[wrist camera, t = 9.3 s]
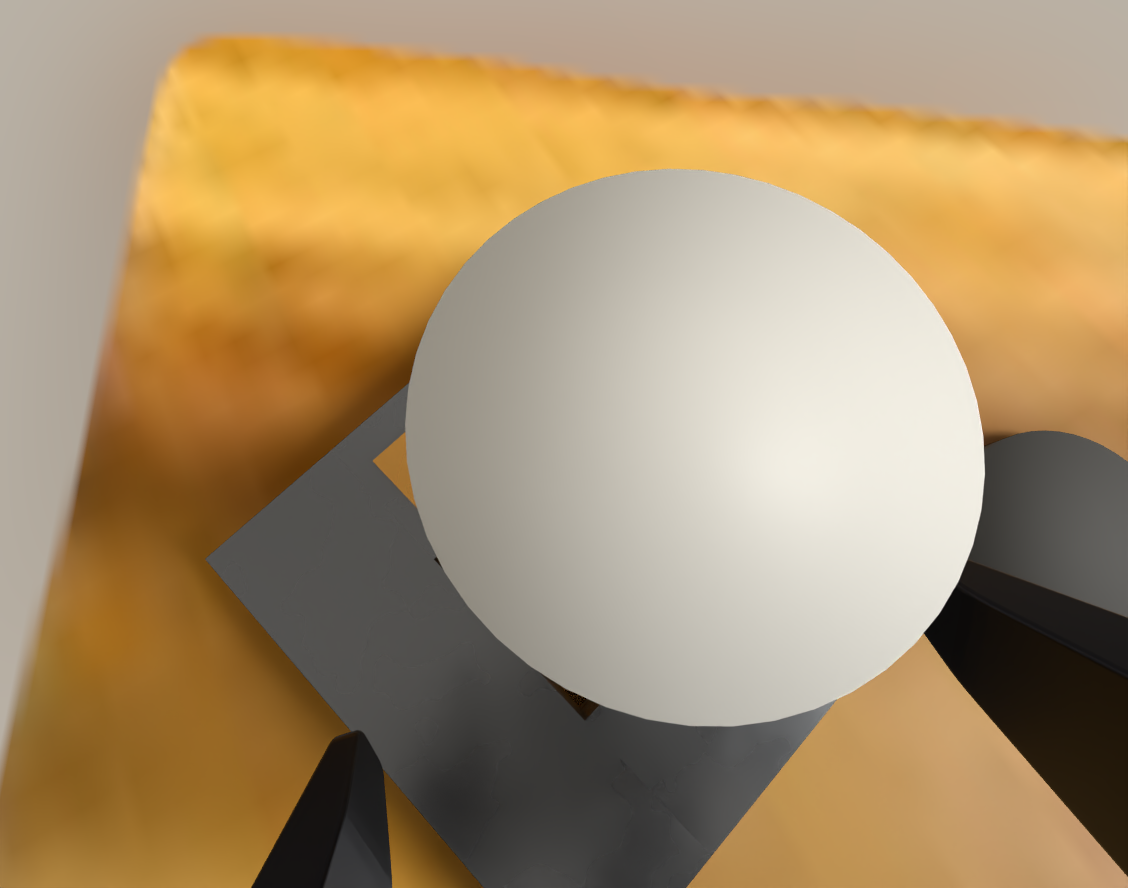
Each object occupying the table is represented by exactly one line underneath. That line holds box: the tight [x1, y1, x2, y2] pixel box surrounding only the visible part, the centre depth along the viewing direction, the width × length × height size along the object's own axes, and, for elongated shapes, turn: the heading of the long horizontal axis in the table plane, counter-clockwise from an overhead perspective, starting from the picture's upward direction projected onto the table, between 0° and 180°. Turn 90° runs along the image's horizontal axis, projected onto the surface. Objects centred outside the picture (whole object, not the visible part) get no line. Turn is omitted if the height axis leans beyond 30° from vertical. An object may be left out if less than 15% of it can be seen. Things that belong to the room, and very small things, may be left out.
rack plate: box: [205, 383, 837, 888], centre depth 17 cm, size 14×14×3 cm
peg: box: [405, 169, 985, 726], centre depth 11 cm, size 4×4×15 cm
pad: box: [968, 431, 1128, 617], centre depth 19 cm, size 7×7×1 cm
